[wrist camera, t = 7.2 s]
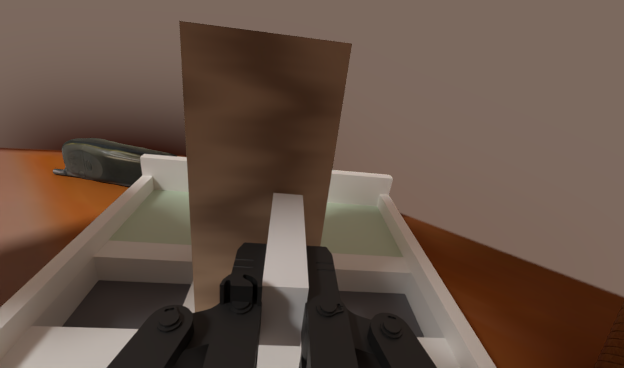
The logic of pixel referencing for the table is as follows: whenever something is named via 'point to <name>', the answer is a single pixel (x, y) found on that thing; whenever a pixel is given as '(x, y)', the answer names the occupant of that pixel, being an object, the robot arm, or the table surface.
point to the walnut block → (255, 138)
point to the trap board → (179, 276)
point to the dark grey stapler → (104, 161)
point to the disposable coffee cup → (613, 346)
